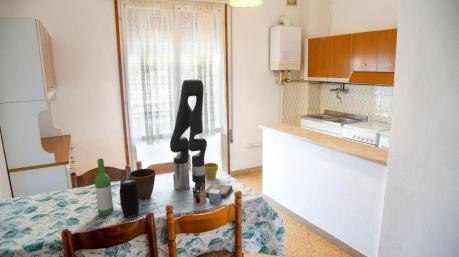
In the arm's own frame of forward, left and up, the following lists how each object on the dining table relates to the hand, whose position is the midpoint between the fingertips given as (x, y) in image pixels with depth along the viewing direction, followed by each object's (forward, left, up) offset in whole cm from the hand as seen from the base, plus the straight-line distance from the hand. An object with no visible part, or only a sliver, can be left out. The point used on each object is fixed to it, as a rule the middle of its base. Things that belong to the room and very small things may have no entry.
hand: (199, 200), depth 184 cm
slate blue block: (+8, +4, -1) cm, 9 cm away
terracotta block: (0, 0, -1) cm, 1 cm away
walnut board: (+6, +15, -1) cm, 16 cm away
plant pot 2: (-7, +37, -1) cm, 38 cm away
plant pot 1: (-34, -4, -1) cm, 34 cm away
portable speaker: (-29, -25, -1) cm, 38 cm away
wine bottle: (-44, -26, -1) cm, 51 cm away
